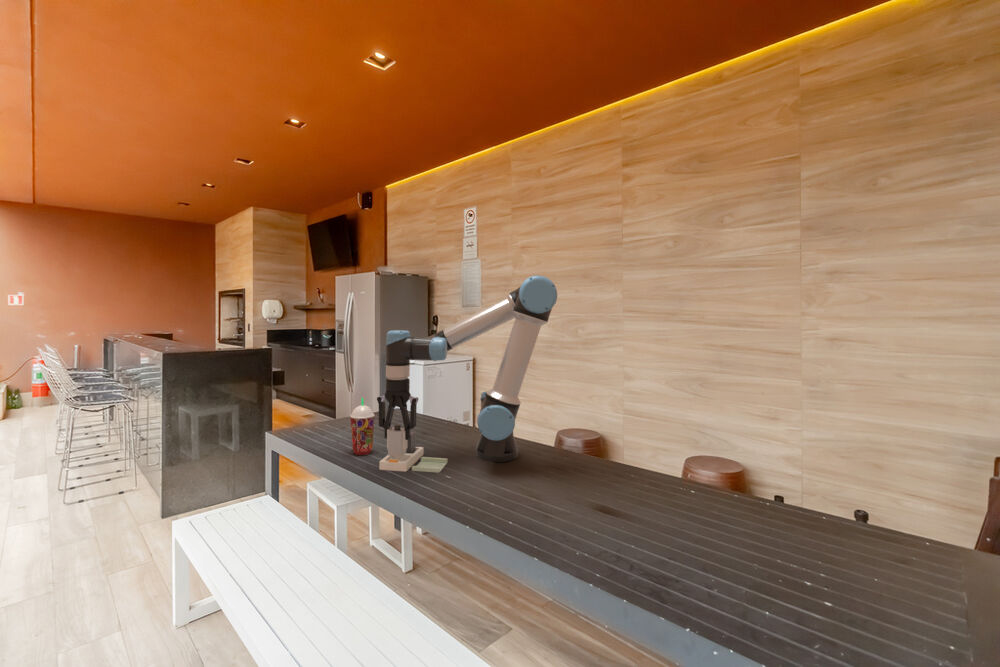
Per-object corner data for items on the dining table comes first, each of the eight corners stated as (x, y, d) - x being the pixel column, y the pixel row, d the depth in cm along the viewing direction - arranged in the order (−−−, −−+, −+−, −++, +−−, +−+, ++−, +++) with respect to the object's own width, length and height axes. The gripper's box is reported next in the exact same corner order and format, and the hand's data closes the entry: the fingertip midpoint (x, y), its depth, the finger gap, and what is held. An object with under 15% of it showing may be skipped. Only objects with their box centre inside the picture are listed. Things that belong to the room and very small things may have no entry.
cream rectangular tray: (423, 455, 159) (423, 426, 158) (406, 472, 142) (406, 439, 141) (399, 454, 160) (399, 425, 159) (379, 470, 143) (379, 438, 143)
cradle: (447, 463, 151) (447, 458, 151) (439, 473, 141) (439, 468, 141) (422, 461, 152) (422, 456, 152) (411, 471, 143) (411, 466, 142)
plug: (406, 452, 148) (406, 423, 148) (401, 456, 144) (401, 427, 143) (393, 451, 149) (393, 423, 149) (388, 455, 145) (388, 426, 144)
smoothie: (370, 456, 157) (370, 400, 156) (346, 456, 157) (346, 399, 156) (377, 449, 165) (377, 395, 164) (355, 448, 165) (354, 395, 164)
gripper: (427, 377, 148) (426, 446, 149) (377, 375, 150) (376, 443, 151) (419, 380, 140) (419, 454, 141) (367, 378, 143) (367, 450, 144)
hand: (397, 448), depth 146 cm, fingers closed on plug, 4 cm apart
